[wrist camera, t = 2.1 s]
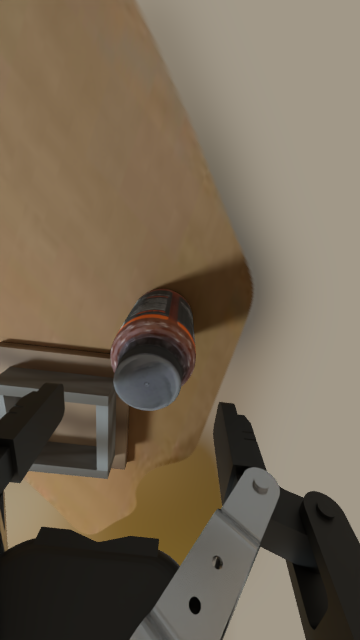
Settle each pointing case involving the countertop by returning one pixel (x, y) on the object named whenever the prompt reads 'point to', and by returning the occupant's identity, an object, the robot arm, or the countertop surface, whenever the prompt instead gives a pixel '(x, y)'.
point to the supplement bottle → (154, 351)
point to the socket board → (70, 407)
